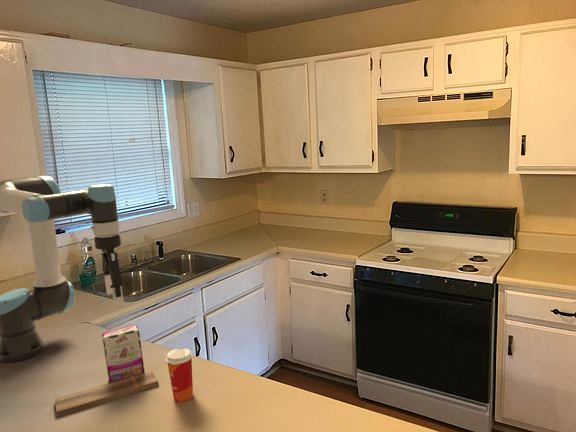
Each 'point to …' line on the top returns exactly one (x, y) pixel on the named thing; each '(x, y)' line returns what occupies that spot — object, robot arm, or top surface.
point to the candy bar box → (123, 353)
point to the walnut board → (105, 393)
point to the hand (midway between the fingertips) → (115, 299)
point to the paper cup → (180, 374)
